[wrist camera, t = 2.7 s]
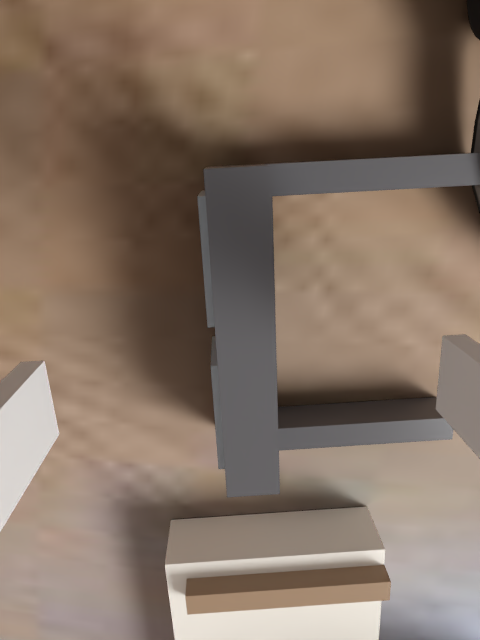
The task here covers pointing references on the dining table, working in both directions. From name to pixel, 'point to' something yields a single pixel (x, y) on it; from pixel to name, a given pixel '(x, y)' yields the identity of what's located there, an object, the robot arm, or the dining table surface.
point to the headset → (476, 4)
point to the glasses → (259, 315)
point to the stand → (277, 576)
